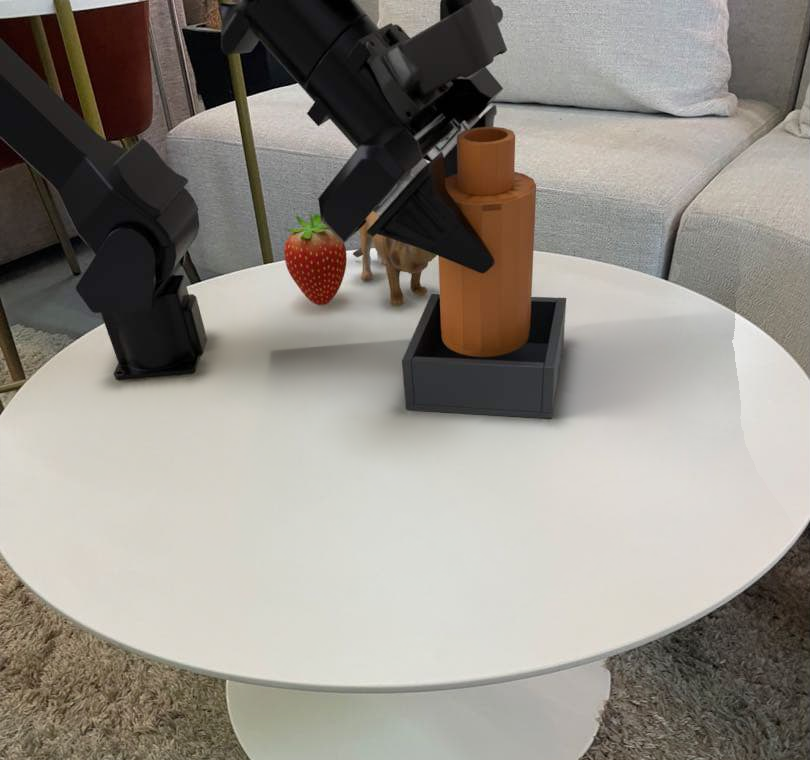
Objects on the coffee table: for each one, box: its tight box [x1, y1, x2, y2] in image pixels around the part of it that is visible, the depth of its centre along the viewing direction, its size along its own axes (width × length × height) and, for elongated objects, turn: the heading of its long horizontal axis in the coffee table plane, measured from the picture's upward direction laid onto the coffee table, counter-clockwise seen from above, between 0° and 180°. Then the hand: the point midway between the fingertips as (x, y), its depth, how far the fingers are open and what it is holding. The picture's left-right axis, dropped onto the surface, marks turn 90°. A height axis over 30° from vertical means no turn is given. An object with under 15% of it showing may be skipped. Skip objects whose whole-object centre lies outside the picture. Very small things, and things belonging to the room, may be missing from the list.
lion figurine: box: [352, 211, 438, 307], centre depth 71 cm, size 15×5×9 cm, turn 33°
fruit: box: [283, 211, 348, 306], centre depth 69 cm, size 5×5×8 cm
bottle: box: [437, 126, 537, 357], centre depth 54 cm, size 6×6×14 cm
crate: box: [401, 293, 567, 420], centre depth 59 cm, size 10×10×4 cm
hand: (505, 248), depth 54 cm, fingers closed on bottle, 6 cm apart
